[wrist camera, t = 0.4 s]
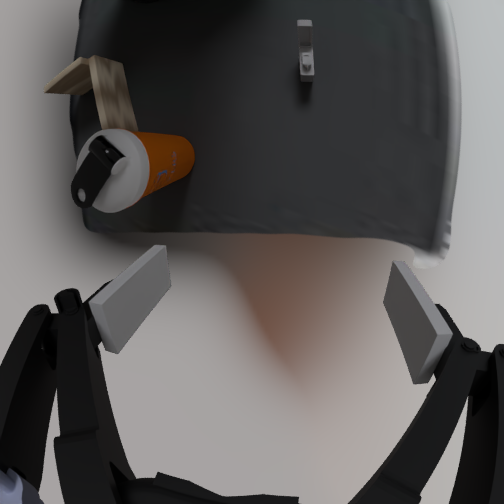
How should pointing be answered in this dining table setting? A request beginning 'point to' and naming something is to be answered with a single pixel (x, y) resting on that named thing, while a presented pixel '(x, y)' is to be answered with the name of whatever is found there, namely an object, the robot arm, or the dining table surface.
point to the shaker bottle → (128, 167)
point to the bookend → (99, 89)
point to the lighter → (305, 50)
